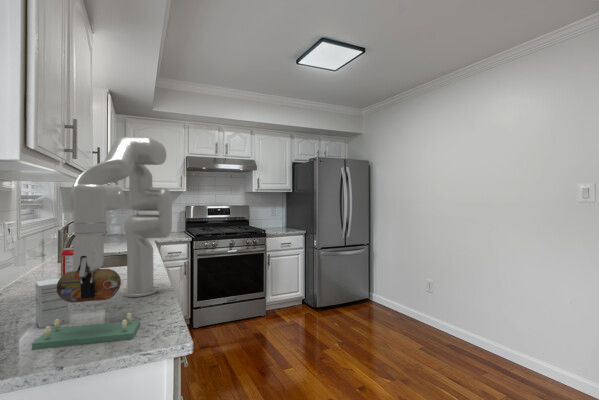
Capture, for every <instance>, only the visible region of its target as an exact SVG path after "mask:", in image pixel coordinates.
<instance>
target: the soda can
mask: <svg viewBox="0 0 599 400" xmlns="http://www.w3.org/2000/svg"><path fill="white" fill-rule="evenodd" d="M73 253H74V247H66V248H62V250H61V252H60V278H61V277H62V276H63V275H65V274H66V273H69V272H72V271H73Z"/></svg>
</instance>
